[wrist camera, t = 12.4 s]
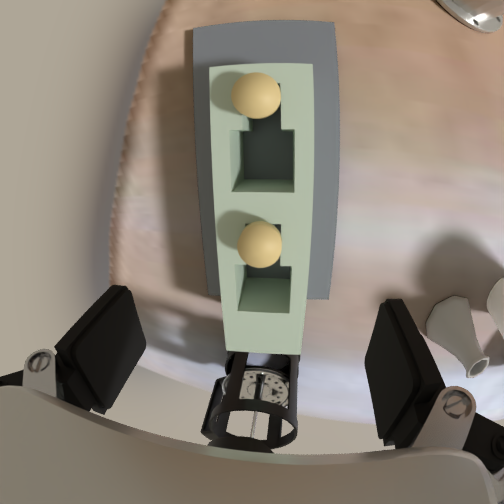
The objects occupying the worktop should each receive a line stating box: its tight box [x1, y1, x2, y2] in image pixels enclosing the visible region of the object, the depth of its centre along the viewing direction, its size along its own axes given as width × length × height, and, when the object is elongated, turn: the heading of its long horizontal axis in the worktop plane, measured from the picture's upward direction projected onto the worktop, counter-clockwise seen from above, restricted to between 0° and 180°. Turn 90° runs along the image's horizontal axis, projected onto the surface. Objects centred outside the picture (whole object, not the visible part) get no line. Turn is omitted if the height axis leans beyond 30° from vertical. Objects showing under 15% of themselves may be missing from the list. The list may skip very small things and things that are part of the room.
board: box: [193, 20, 340, 299], centre depth 21 cm, size 28×13×9 cm, turn 2°
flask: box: [426, 296, 489, 378], centre depth 25 cm, size 7×7×10 cm
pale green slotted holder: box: [209, 63, 314, 355], centre depth 23 cm, size 24×7×6 cm, turn 1°
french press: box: [201, 351, 300, 454], centre depth 24 cm, size 12×9×23 cm
